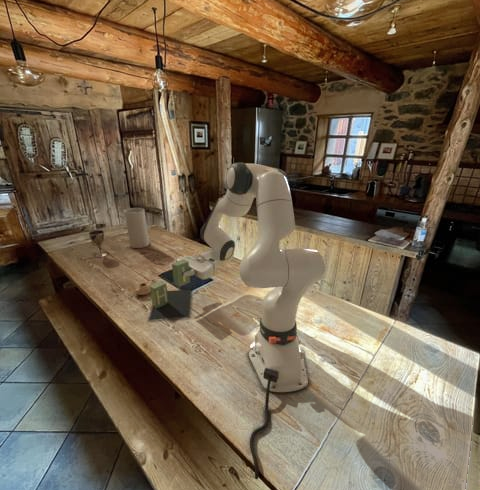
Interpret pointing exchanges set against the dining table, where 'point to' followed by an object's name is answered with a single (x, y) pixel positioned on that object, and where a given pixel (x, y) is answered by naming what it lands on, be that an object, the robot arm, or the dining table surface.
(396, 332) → the dining table surface
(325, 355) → the dining table surface
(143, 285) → the pottery oil lamp
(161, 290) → the letter H
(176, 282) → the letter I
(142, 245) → the cylinder vase
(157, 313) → the word mat
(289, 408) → the dining table surface
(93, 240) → the wine glass
